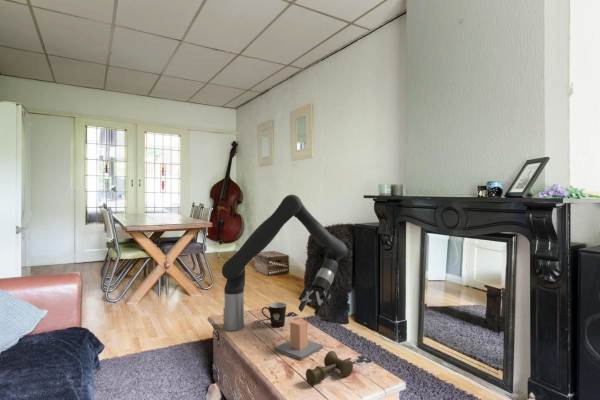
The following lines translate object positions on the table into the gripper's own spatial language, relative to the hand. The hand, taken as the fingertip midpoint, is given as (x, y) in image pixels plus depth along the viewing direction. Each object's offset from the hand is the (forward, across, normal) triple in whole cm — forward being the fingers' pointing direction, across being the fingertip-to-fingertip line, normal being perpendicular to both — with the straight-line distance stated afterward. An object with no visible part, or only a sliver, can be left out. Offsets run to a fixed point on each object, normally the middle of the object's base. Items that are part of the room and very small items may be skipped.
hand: (307, 312), depth 143 cm
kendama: (+20, +22, 0) cm, 30 cm away
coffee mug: (+4, -27, +15) cm, 31 cm away
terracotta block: (+13, 0, +4) cm, 14 cm away
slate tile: (+14, 0, +5) cm, 15 cm away
